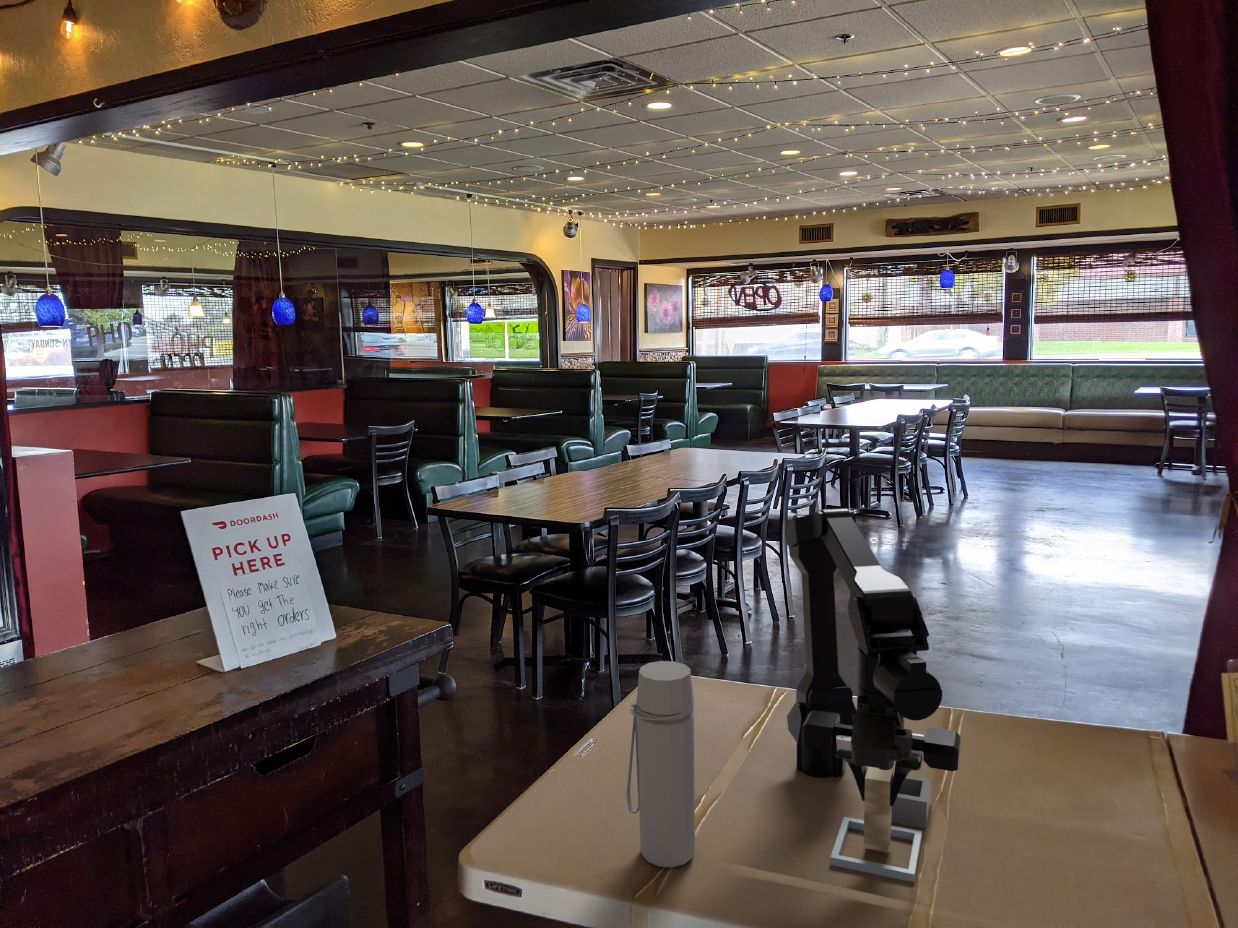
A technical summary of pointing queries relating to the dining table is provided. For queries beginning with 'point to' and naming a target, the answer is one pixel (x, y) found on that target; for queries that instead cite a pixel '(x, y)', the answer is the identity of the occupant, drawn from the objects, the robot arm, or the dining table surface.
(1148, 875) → the dining table surface
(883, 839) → the peg
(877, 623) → the robot arm
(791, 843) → the dining table surface
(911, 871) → the grey flat frame
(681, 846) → the water bottle
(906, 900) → the dining table surface
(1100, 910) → the dining table surface
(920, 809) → the block with square hole
